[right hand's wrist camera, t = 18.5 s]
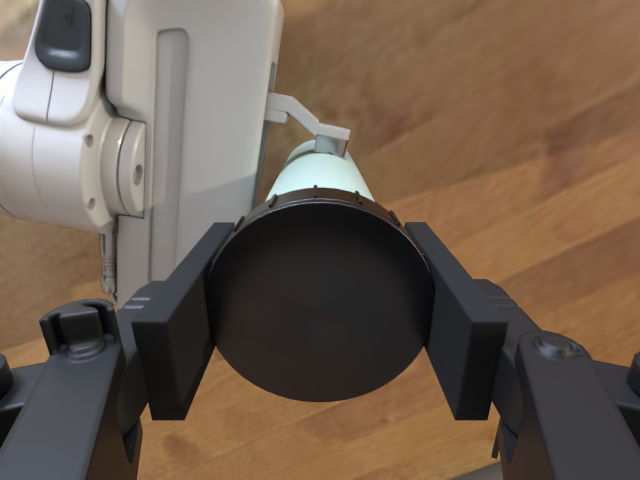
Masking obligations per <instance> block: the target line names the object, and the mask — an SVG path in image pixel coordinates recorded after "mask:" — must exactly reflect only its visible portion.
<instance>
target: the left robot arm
mask: <svg viewBox="0 0 640 480" xmlns="http://www.w3.org/2000/svg"><path fill="white" fill-rule="evenodd" d="M283 21H284V10H283V7H282V4H281V2H280V0H40V3H39V7H38V12H37V16H36V20H35V24H34V27H33V31H32V35H31V38H30V42H29V45H28V48H27V52H26V55H25V57H24V60H17V61H0V212H2V213H4V214H6V215H8V216H11V217H14V218H18V219H21V220H26V221H32V222H37V223H43V224H49V225H54V226H60V227H65V228H71V229H77V230H83V231H88V232H94V233H99V239H100V256H101V262H102V273H101V278H100V282H101V287H102V291H103V292H104V293H106V294H108V295H109V298H110V300H111V301H112V303H113V304H114V305H115V306H116V307H117V309H118V310H119V309H122V306H123V305H124V304H125V303H126V302H127V301H128V300H130V298H131V297H132V296H133V294H134V293H135V292H136V291H137V290H138V289H139V288H141V287H143V286H145V285H146V284H148V283H150V282H152V281H165V280H166V279H167V278H168V277H169V276H170V275H171V273H172V272H173V271H174V270H175V269H176V267H177V266H178V265H179V264H180V263H181V261H182V260H183V259H184V258H185V257H186V256H187V254H188V253H189V252H190V251H191V250H192V248H193V247H194V246H195V245H196V244H197V242H198V241H199V240H200V239H201V238H202V237H203V235H204V234H205V233H206V232H207V231H208V229H209V228H210V227H211V226H212V225H213V223H214V222H235V225H236V224H237V222H238V221H239V219H240V217H241V216H242V215H243V216H244V217H245V216H246V215H248V214H249V213H250V212H251V211H252V210H253V209H255V208H256V207H258V200H259V192H260V185H261V178H262V171H263V164H264V157H265V150H266V143H267V135H268V128H269V121H273V122H279V123H285V122H286V121H288V120H289V117H290V115H291V116H293V117H294V118H295V119H296V120H297V121H298V122H299V123H301V124H302V125H303V126H304V127H305V128H306V129H307V130H309V131H310V132H311V133H312V134H313V135H314V136H315V137H316V141H315V147H314V152H317V153H324V154H327V153H329V152H330V153H331V154H332V155H334V156H337V157H345V153H346V148H347V144H348V139H349V135H350V130H349V129H346V128H342V127H337V126H332V125H328V124H323V123H319V120H318V119H317V118H316V117H315V116H314V115H312V114H311V113H310V112H309V111H308V110H307V109H306V108H305V107H304V106H303V105H301V104H300V103H299V102H298V101H297V100H296V99H295V98H294V97H291V96H287V95H282V94H277V93H274V85H275V78H276V71H277V64H278V57H279V50H280V43H281V35H282V28H283ZM116 292H117V296H116V294H115V293H116Z"/></svg>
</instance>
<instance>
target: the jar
mask: <svg viewBox="0 0 640 480" xmlns="http://www.w3.org/2000/svg"><path fill="white" fill-rule="evenodd" d="M315 141H316V140H311V141H307V142H305V143H303V144H301V145H300V146H298V147H297V148H296V149H294V151H293V152H292V153H291V154H290V156H289V157H288V159H287V161H286V163H285V165H284V166H283V168H282V170H281V172H280V174H279V176H278V178H277V180H276V182H275V183H274V185H273V187H272V189H271V191H270V193H269V195H268V197H267V199H266V201H267V200H269V199H271V198H272V196H273V194H277V196H278V195H280V194H283V193H287V192H290V191H293V190H299V189H304V188H313V187H314V185H317V187H325V188H336V189H341V190H346V191H351V192H353V193H355V191H359V193H360V195H362V196H364V197H366V198H368V199H370V200H372V201H374V199H373V197H372V195H371V193H370V191H369V189H368V187H367V186H366V184H365V182H364V180H363V178H362V176H361V174H360V172H359V170H358V168H357V167H356V165H355V163H354V161H353V159H352V157H351V156H350V154H349V153H348V152H347V151H346V153H345V157H337V156H334V155H332V154H331V153H330V152H329V153H327V154H324V153H317V152H314V147H315ZM374 202H375V201H374Z"/></svg>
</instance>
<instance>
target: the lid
mask: <svg viewBox="0 0 640 480" xmlns="http://www.w3.org/2000/svg"><path fill="white" fill-rule="evenodd" d="M232 231H233V232H232V234H231V235H230V237H229V238H228V240H227V241H226V243H225V244H224V246H222V247H221V248H220V250H219V251H218V253H217V254H216V256H215V257H214V259H213V260H212V262H211V265H212V267H211V269H210V272H209V275H208V279H207V282H206V287H205V303H206V311H207V318H208V326H209V331H210V334H211V337H212V339H213V341H214V343H215V345H216V347H217V349H218V350H219V352H220V353H221V354H222V356H223V357H224V359H225V360H226V361H227V362H228V363H229V364H230V365H231V367H232V368H233V369H234V370H236V371H237V372H238V373H239V374H240V375H241V376H243V377H244V378H245V379H247V380H248V381H250V382H251V383H253V384H254V385H256V386H258V387H260V388H262V389H264V390H266V391H268V392H271V393H273V394H276V395H278V396H282V397H285V398H289V399H293V400H299V401H307V402H333V401H340V400H346V399H350V398H354V397H358V396H361V395H364V394H367V393H369V392H372V391H374V390H376V389H378V388H380V387H382V386H384V385H385V384H387V383H388V382H390V381H392V380H393V379H394V378H396V377H397V376H398V375H399V374H401V373H402V372H403V371H404V370H405V369H406V368H407V367H408V366H409V365H410V364H411V363H412V362H413V361H414V359H415V358H416V357H417V355H418V354H419V353H420V351H421V350H422V348H423V346H424V344H425V342H426V341H427V338H428V336H429V333H430V330H431V323H432V315H433V308H434V300H435V288H434V284H433V280H432V276H431V273H430V270H429V268H428V265H427V263H426V261H425V259H424V258H425V257H426V256H425V254H424V253H423V251H422V250H421V248H420V247H419V245H418V244H417V242H416V241H415V239H414V240H412V239H411V237H410V235H409V234H408V232H407V231H406V229H405V228H404V227H403V226H402V224H401V223H400V221H399V220H398V218H397V217H396V215H395V214H394V212H393V211H392V210H390V211H388V210H386V209H385V208H383V207H382V206H381V205H379V204H378V203H376V202H374V201H372V200H370V199H368V198H366V197H364V196H362V195H360V193H359V191H355V193H353V192H351V191H346V190H341V189H336V188H325V187H317V185H314V187H313V188H304V189H299V190H293V191H290V192H287V193H283V194H280V195H278V196H277V194H273V196H272V198H271V199H269V200H267V201H265V202H264V203H262V204H261V205H259V206H258V207H256V208H255V209H253V210H252V211H251V212H250V213H249V214H248V215H246V216H245V217H244V216H243V215H242V216H241V217H240V219H239V221H238V222H237V224H236V225H235V227H234V228H233V230H232Z"/></svg>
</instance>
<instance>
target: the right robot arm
mask: <svg viewBox="0 0 640 480" xmlns="http://www.w3.org/2000/svg"><path fill="white" fill-rule="evenodd" d="M234 227H235V222H214V223H213V225H212V226H211V227H210V228H209V229H208V231H207V232H206V233H205V234H204V235H203V237H202V238H201V239H200V240H199V241H198V242H197V244H196V245H195V246H194V247H193V248H192V250H191V251H190V252H189V253H188V254H187V256H186V257H185V258H184V259H183V260H182V261H181V263H180V264H179V265H178V266H177V267H176V269H175V270H174V271H173V272H172V273H171V275H170V276H169V277H168V278H167V279H166V280H165V281H152V282H150V283H148V284H146V285H145V286H143V287H141V288H139V289H138V290H137V291H136V292H135V293H134V294H133V296H132V297H131V298H130V300H128V301H127V302H126V303H125V304H124V305H123V306H122V309H119V310H118V311H117V312H116V314H115V310H114V306H113V304H112V303H111V302H110V301H108V300H104V299H85V300H80V301H75V302H71V303H68V304H66V305H63V306H60V307H58V308H56V309H54V310H52V311H51V312H49V313H47V314H46V315H45V316H44V317H43V318H42V319H41V320H40V321H39V323H40V326H41V329H42V332H43V335H44V338H45V341H46V344H47V347H48V350H49V353H50V357H49V358H48V360H47V362H44V363H39V364H34V365H29V366H23V367H18V368H13V369H10V368H9V365H8V363H7V360H6V357H5V356H4V355H3V354H1V353H0V480H137V473H138V466H139V458H140V451H141V443H142V435H143V431H142V425H141V421H140V416H141V414H142V412H143V410H144V408H145V407H146V405H147V403H149V408H150V412H151V417H152V420H185V418H186V415H187V413H188V410H189V408H190V406H191V403H192V401H193V398H194V396H195V394H196V391H197V389H198V387H199V384H200V382H201V379H202V377H203V375H204V372H205V370H206V367H207V365H208V363H209V360H210V358H211V355H212V353H213V351H214V348H215V346H216V345H215V343H214V341H213V339H212V337H211V334H210V331H209V326H208V318H207V311H206V303H205V287H206V282H207V279H208V275H209V272H210V269H211V267H212V265H211V262H212V260H213V259H214V257H215V256H216V254H217V253H218V251H219V250H220V248H221V247H222V246H224V244H225V243H226V241H227V240H228V238H229V237H230V235H231V234H232V232H233V231H232V230H233V228H234ZM405 229H406V231H407V232H408V234H409V235H410V237H411V239H412V240H414V239H415V241H416V242H417V244H418V245H419V247H420V248H421V250H422V251H423V253H424V254H425V256H426V257H425V258H424V259H425V261H426V263H427V265H428V268H429V270H430V273H431V276H432V280H433V284H434V288H435V300H434V308H433V315H432V323H431V330H430V333H429V336H428V338H427V341H426V342H425V344H424V347H425V349H426V352H427V354H428V356H429V359H430V361H431V364H432V366H433V368H434V371H435V373H436V375H437V378H438V380H439V383H440V385H441V387H442V390H443V392H444V395H445V397H446V399H447V402H448V404H449V407H450V409H451V411H452V414H453V416H454V418H455V420H487V419H488V415H489V410H490V406H491V401H492V402H493V404H494V405H495V407H496V409H497V411H498V412H499V414H500V421H499V425H498V429H497V433H496V438H495V442H494V446H493V451H492V458H496V459H497V456H498V452H499V450H500V457H501V465H502V472H503V480H640V351H639V352H638V353H636V354H635V356H634V359H633V361H632V364H631V366H630V367H625V366H620V365H615V364H610V363H605V362H600V361H595V360H592V358H591V356H590V354H589V353H588V352H587V351H586V350H585V348H584V347H583V346H581V345H580V344H578V343H577V342H575V341H574V340H572V339H570V338H567V337H565V336H563V335H560V334H557V333H553V332H549V331H543V330H541V329H540V328H539V327H538V326H537V325H536V324H535V323H534V322H533V321H532V320H531V318H530V317H529V316H528V315H527V314H526V313H525V312H524V311H523V310H522V309H521V308H520V307H518V305H517V304H516V303H515V302H514V301H513V300H512V299H510V296H509V295H508V294H507V293H506V292H505V291H504V290H503V289H502V288H501V287H499V286H497V285H496V284H494V283H492V282H490V281H488V280H487V279H472V277H471V276H470V275H469V274H468V273H467V271H466V270H465V269H464V268H463V267H462V266H461V264H460V263H459V262H458V261H457V260H456V258H455V257H454V256H453V255H452V254H451V252H450V251H449V250H448V249H447V248H446V246H445V245H444V244H443V243H442V242H441V241H440V239H439V238H438V237H437V236H436V235H435V233H434V232H433V231H432V230H431V229H430V227H429V226H428V225H427V224H426V223H425V222H405Z"/></svg>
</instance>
